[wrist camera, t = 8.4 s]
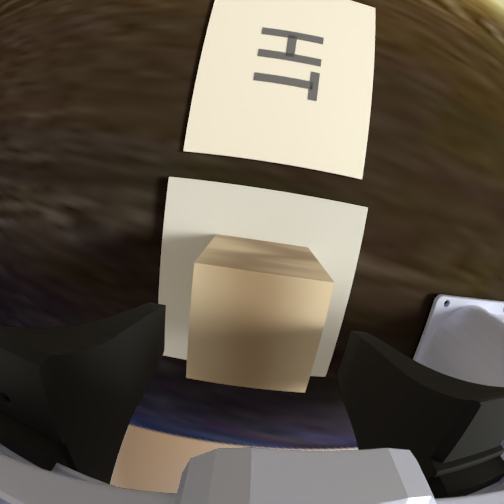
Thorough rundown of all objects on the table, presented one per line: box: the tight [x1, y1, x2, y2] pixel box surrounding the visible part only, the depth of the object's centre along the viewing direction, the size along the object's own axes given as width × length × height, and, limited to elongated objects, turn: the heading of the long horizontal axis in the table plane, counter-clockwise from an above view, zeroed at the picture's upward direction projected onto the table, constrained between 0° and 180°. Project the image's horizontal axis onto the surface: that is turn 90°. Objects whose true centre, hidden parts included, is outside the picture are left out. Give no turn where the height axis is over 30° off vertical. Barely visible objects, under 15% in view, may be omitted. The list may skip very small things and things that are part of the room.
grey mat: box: [158, 177, 368, 377], centre depth 17 cm, size 11×11×1 cm
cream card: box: [183, 0, 375, 179], centre depth 15 cm, size 10×12×1 cm
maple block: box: [186, 234, 335, 393], centre depth 14 cm, size 5×5×6 cm
